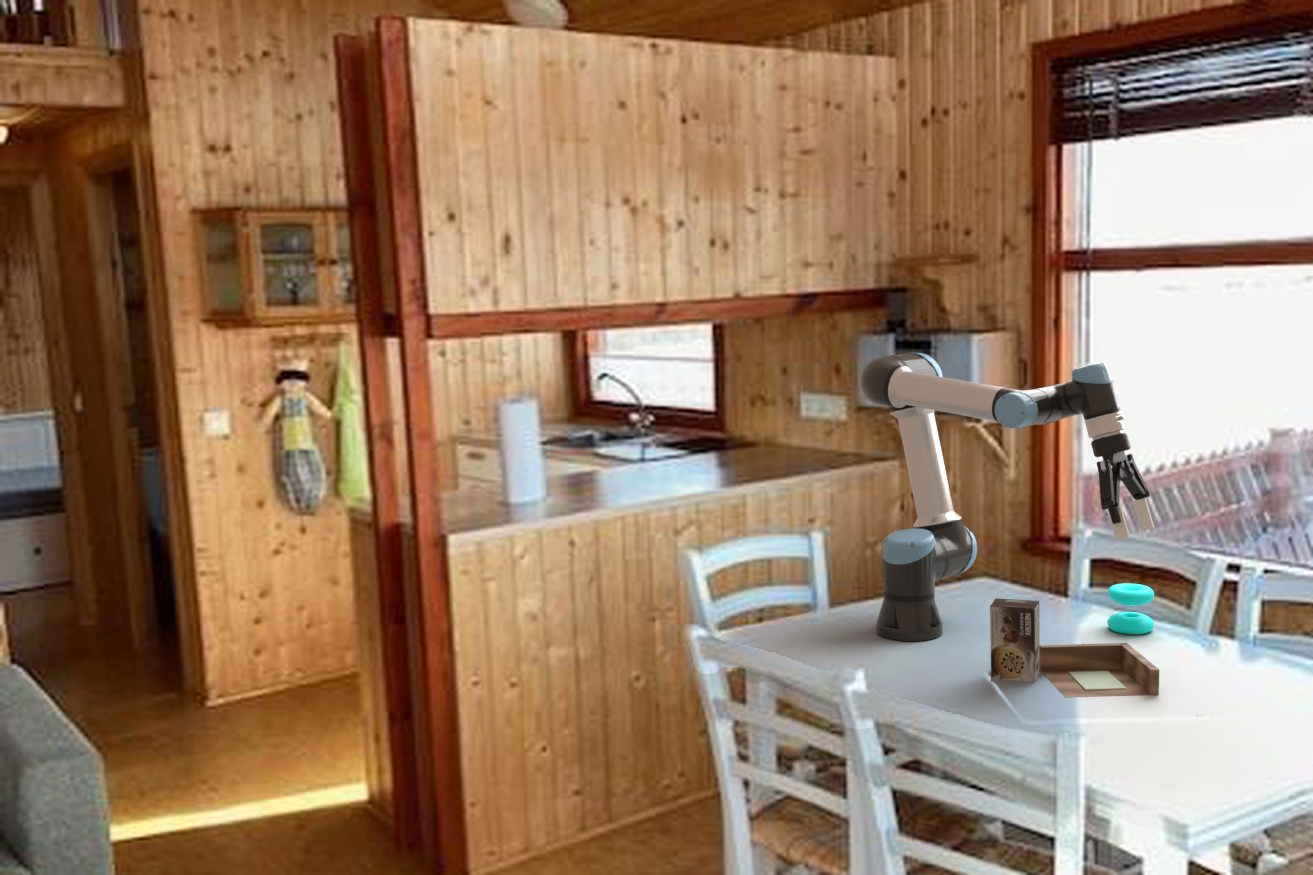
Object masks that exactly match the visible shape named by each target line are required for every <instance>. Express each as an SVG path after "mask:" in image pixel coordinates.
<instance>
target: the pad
mask: <svg viewBox="0 0 1313 875" xmlns="http://www.w3.org/2000/svg"><path fill="white" fill-rule="evenodd" d="M1068 673H1069V674H1070V675H1071V676H1072V677H1073V678H1074V679H1075V680H1076V681H1077V683H1078V684H1079V685H1080V686H1081V687H1082V688H1083V689H1084V690H1085V691H1091V690H1126V689H1127V688H1126V687H1125V686H1124V685H1123V684H1122V683H1121V682H1119V681H1118V680H1117V679H1116V678H1115V677H1114V676H1113V675H1112V674H1111V673H1110V672H1109V671H1081V672H1068Z"/></svg>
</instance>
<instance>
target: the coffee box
mask: <svg viewBox="0 0 1313 875" xmlns="http://www.w3.org/2000/svg"><path fill="white" fill-rule="evenodd" d="M989 621H990V622H989V623H990V624H989V626H990V630H989V631H990V682H991V681H994V682H995V680H994V679H996V680H1006V681H1014V682H1015V681H1016V682H1026V683H1036V682H1037V681H1038V679H1039V677H1040V674H1041V671H1040V651H1039V649H1040V647H1039V645H1040V601H1039V600H1029V599H1015V598H998V597H997V598H994V600H993V601H992V603H991V604H990V606H989Z"/></svg>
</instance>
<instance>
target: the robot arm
mask: <svg viewBox="0 0 1313 875" xmlns="http://www.w3.org/2000/svg"><path fill="white" fill-rule="evenodd" d="M860 375H861V376H860V381H859V382H860V383H859V384H860V388H861V391H862V392H863V395H864V396H865V398H867V400H868V401H870V402H871V403H873V404H875V405H878V406H885V407H888V409H889V415H891V416H893V417H894V418H896V419H897V423H898V425H899V426H898V427H899V431H900V432H899V433H900V436H901V441H902V445H903V453H904V456H905V461H906V465H907V466H906V467H907V471H908V476H909V480H910V486H911V490H912V495H913V501H914V506H915V511H916V516H917V518H916V520H915V522H914V523H913V525H912V528H906V529H899V530H895V531H893V532H891V533H889V534H887V535H886V536H885V538H884V539H883V547H882V554H881V555H882V570H883V571H882V572H883V573H882V577H883V581H882V582H883V583H882V584H883V585H882V586H883V601H882V604H881V607H880V609H879V613H878V616H877V619H876V623H875V624H876V625H875V628H876V631H875V632H876V634H877V635H879V636H880V637H882V638H886V639H889V640H894V641H904V642H918V641H919V642H920V641H928V640H930V641H931V640H934V639H937V638H939V637H941V636H942V635H943V632H944V631H943V630H944V628H943V621H942V618H941V616H940V611H939V608H938V606H937V603H936V599H935V597H936V596H935V594H936V593H935V590H936V588H935V582H939V581H941V580H944V579H947V578H953V577H954V578H955V577H957V576H959V575H960V574H962V573H964V572H966V571H968V570H969V569H970V568H971V567H972V565H973V564H974V563H975V562H976V561H975V560H976V558H977V554H978V544H977V540H976V537H975V535H974V533H973V532H972V531H970V530H969V528H968V527H967V526H965V525H964V521H963V516H961V515H960V514H958V513H957V512H955V510H954V506H953V501H952V497H951V496H952V495H951V491H950V487H949V486H950V485H949V482H948V476H947V471H946V467H945V461H944V456H943V451H942V446H941V442H940V437H939V432H938V426H937V421H936V417H935V411H937V412H944V413H947V414H948V413H949V414H952V415H953V414H954V415H959V416H965V417H970V418H975V419H980V420H986V421H990V422H991V421H992V422H996V423H999V424H1000V425H1002V426H1003V427H1005V428H1007V429H1024V428H1027V427H1031V426H1035V425H1038V426H1039V425H1046V424H1052V423H1054V422H1057V421H1060V420H1063V419H1067V418H1071V417H1074V416H1077V415H1082V416H1083V421H1084V425H1085V428H1086V432H1087V435H1088V438H1089V439H1092V441H1091V443H1090V444H1091V449H1092V453H1093V456H1094V457H1095V458H1100V457H1102V460H1100V461H1096V467H1097V471H1098V472H1097V473H1098V481H1099V482H1098V484H1099V497H1100V505H1101V506H1100V507H1101V508H1102V510H1103V511H1104V510H1107V511H1108V512H1107V513H1108V516H1109V519H1110V523H1111V525H1112V530H1113V534H1114V537H1115V540H1116V541H1117V540H1122V539H1128V538H1130V537H1131V536H1130V532H1129V528H1128V524H1127V521H1126V517H1125V513H1124V510H1123V507H1122V505H1120V491H1121V490H1120V489H1121V488H1120V487H1121V482H1122V483H1123V485H1124V487H1125V488H1126V489H1127V491H1128V492H1129V494H1130V495H1131V496H1132V498H1133V499H1134V500H1132V503H1133V507H1134V511H1135V514H1136V517H1137V518H1136V519H1137V522H1138V525H1139V529H1140V531H1146V530H1151V529H1154V528H1155V524H1154V522H1153V519H1152V515H1151V511H1150V507H1149V504H1148V500H1147V498H1150V497H1151V493H1150V491H1149V488H1148V486H1147V484H1146V482H1145V480H1144V478H1143V476H1142V473H1141V472H1140V469H1139V468H1138V466H1137V464H1136V462H1135V459H1134V455H1133V454H1132V453H1128V454H1126V453H1125V452H1126V451H1129V450H1131V448H1132V446H1131V442H1130V439H1129V434H1128V433H1127V432H1124V431H1125V429H1126V426H1125V423H1124V422H1125V421H1124V420H1125V416H1124V415H1122V412H1121V408H1120V406H1119V401H1118V398H1117V394H1116V389H1115V386H1114V380H1113V379H1112V375H1111V373H1110V370H1109V367H1108V365H1107V364H1106V363H1105V362H1100V361H1099V362H1095V363H1090V364H1087V365H1083V366H1080V367H1077V368H1074V369H1072V371H1071V379H1070V380H1068V381H1065V382H1061V383H1057V384H1053V385H1051V386H1045V387H1039V388H1033V389H1027V390H1022V389H1021V390H1020V389H1015V388H1007V387H1003V386H997V385H991V384H987V383H980V382H979V383H978V382H975V381H969V380H968V381H967V380H961V379H956V378H955V379H954V378H949V377H944V375H943V372H942V369H941V367H940V366H939V364H938V363H937V361H936V360H935V359H934V358H933V357H931V356H930V355H928V354H926V353H922V352H913V351H912V352H904V353H898V354H891V355H881V356H878V357H877V356H876V357H875V358H874V359H871V360H870V361H869V362H868V363H867V364H866V365H865V366H864V368H863V370H862V372H861V374H860Z"/></svg>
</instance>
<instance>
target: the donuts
mask: <svg viewBox="0 0 1313 875" xmlns="http://www.w3.org/2000/svg"><path fill="white" fill-rule="evenodd" d="M1107 595H1108V598H1109V599H1110V600H1111V601H1113V602H1114V603H1115V604H1119V605H1123V606H1134V607H1135V606H1136V607H1138V606H1143V605H1147V604H1149V603H1151V602H1152V601H1153V599H1154V598H1155V592H1154V590H1153V588H1151V587H1149V586H1147V585H1145V584H1144V585H1143V584H1138V583H1131V582H1130V583H1125V582H1124V583H1116V584H1113V585H1111V586H1110V587H1109V588H1108V589H1107ZM1106 623H1107V626H1108V628H1109V629H1110V630H1111V631H1113V632H1115V633H1118V632H1119V634H1123V635H1133V634H1134V635H1135V634H1136V635H1143V634H1144V635H1145V634H1148V633H1150V632H1151V631H1152V630H1153V629H1154V628H1155V624H1154V621H1153V619H1152V618H1151V617H1150V616H1149V615H1146V614H1144V613H1141V612H1137V611H1119V612H1116V613H1113V614H1112V615H1110V616H1109V617H1108V619H1107V622H1106Z"/></svg>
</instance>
